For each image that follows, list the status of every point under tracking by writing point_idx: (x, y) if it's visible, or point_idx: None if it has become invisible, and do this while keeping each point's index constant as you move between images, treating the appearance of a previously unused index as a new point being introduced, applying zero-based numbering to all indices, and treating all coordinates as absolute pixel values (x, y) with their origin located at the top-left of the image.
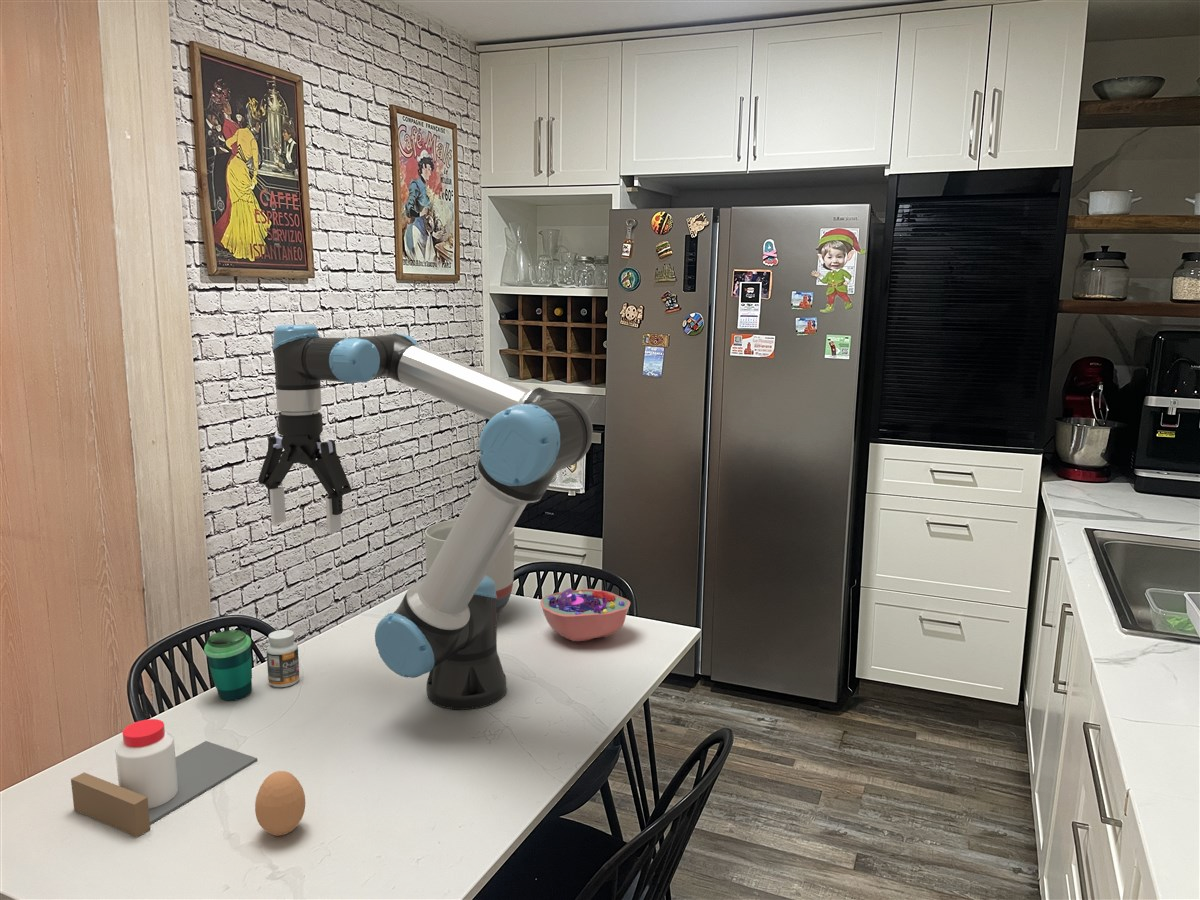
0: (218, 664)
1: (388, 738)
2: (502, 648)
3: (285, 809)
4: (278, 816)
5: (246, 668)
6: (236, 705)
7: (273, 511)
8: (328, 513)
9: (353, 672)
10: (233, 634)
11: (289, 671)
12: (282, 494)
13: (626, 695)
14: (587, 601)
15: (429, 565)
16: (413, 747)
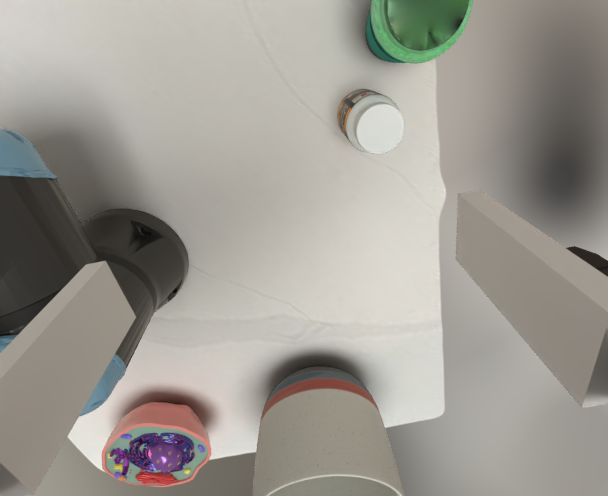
0: None
1: (74, 101)
2: (212, 353)
3: None
4: None
5: (369, 32)
6: (353, 4)
7: (498, 222)
8: (26, 332)
9: (302, 201)
10: (426, 23)
11: (341, 114)
12: (544, 349)
13: None
14: (151, 461)
15: (351, 422)
16: (25, 107)
